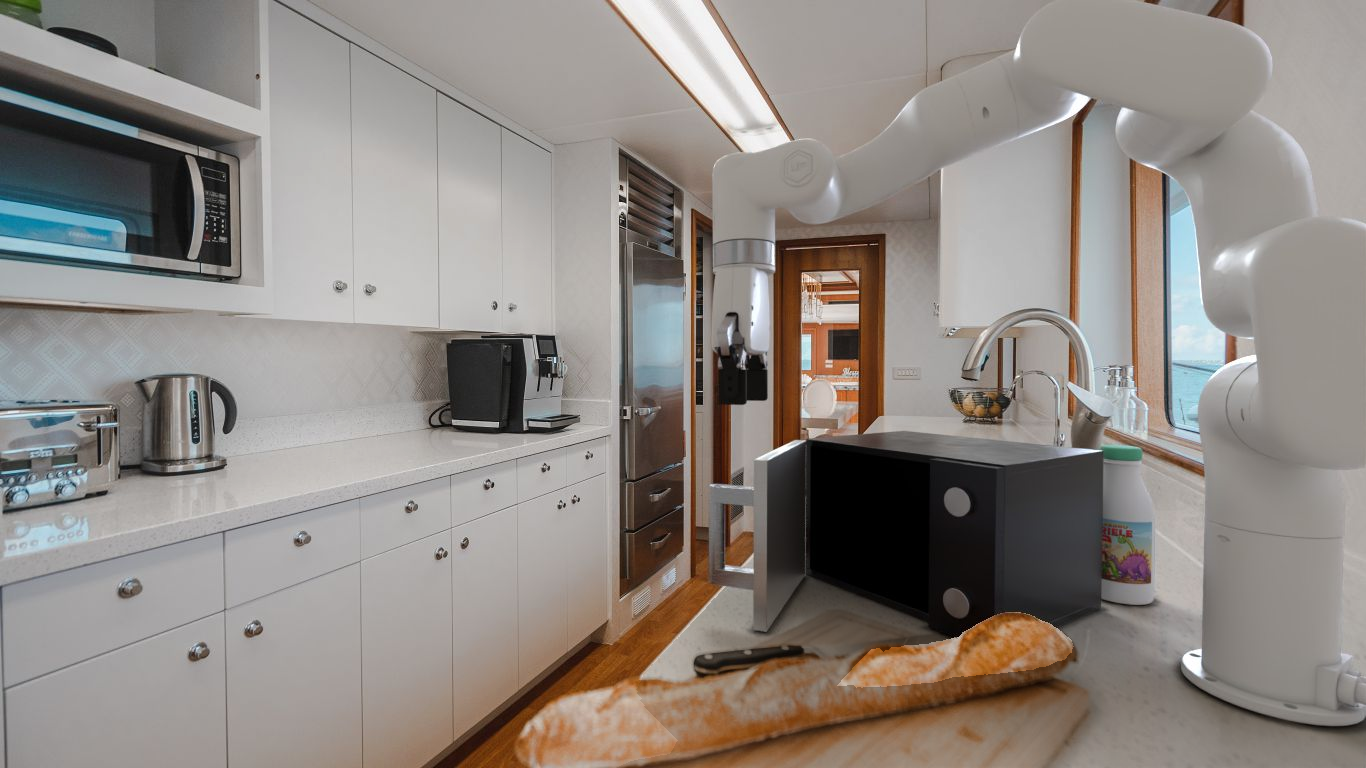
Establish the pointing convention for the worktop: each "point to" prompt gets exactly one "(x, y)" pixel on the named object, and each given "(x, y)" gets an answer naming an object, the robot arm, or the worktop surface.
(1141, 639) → the worktop surface
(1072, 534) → the microwave
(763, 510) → the microwave door
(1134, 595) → the milk bottle
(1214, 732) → the worktop surface
